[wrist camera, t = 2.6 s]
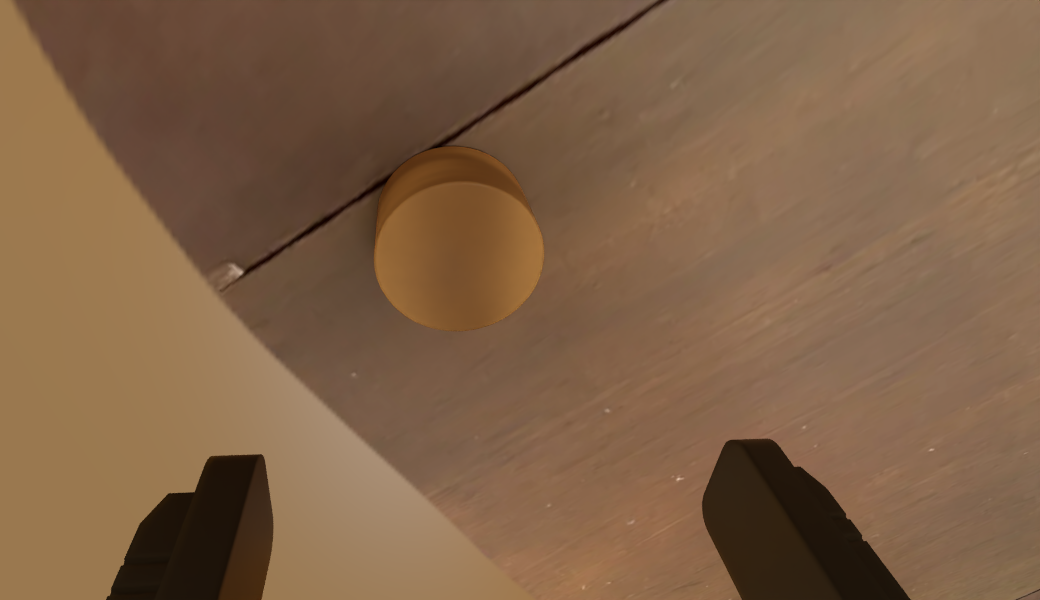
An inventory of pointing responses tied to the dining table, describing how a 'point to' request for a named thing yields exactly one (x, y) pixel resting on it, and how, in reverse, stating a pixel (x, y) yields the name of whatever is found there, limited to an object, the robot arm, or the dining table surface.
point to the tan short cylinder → (456, 240)
